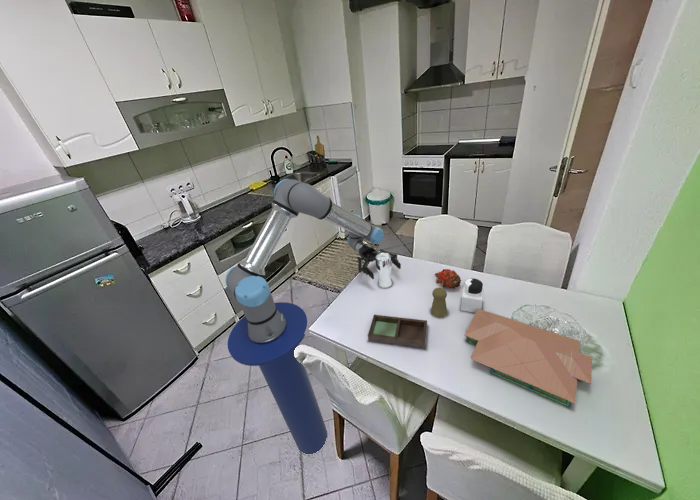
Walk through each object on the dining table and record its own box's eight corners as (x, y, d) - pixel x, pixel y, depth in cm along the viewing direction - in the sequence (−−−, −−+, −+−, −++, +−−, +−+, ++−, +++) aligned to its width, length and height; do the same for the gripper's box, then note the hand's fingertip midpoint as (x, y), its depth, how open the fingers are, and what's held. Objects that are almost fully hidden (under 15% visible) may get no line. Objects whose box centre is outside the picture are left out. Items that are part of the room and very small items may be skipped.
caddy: (368, 341, 101) (367, 335, 99) (374, 320, 109) (374, 314, 107) (425, 349, 94) (425, 343, 93) (427, 326, 103) (427, 320, 101)
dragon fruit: (460, 295, 117) (436, 287, 126) (468, 277, 118) (443, 271, 127) (453, 287, 111) (427, 280, 120) (461, 269, 113) (435, 263, 122)
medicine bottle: (481, 301, 110) (485, 277, 103) (480, 314, 104) (484, 289, 98) (462, 298, 113) (464, 275, 106) (460, 310, 107) (462, 286, 101)
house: (585, 416, 71) (595, 397, 66) (455, 359, 90) (456, 342, 85) (588, 352, 85) (597, 333, 81) (476, 314, 104) (478, 298, 100)
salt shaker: (448, 308, 109) (450, 287, 103) (444, 319, 104) (446, 297, 99) (433, 305, 112) (433, 283, 106) (428, 314, 107) (429, 293, 102)
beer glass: (385, 277, 132) (382, 250, 124) (396, 283, 127) (394, 255, 119) (374, 284, 128) (371, 257, 121) (385, 290, 123) (383, 262, 116)
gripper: (387, 249, 144) (410, 269, 127) (343, 265, 137) (362, 287, 120) (386, 237, 140) (410, 255, 123) (341, 252, 133) (360, 274, 116)
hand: (386, 271), depth 121 cm, fingers open, 13 cm apart
